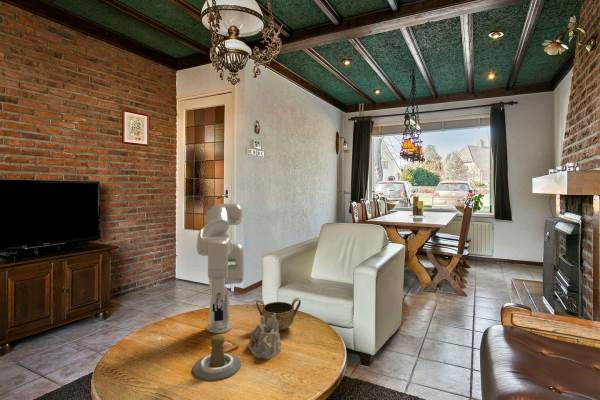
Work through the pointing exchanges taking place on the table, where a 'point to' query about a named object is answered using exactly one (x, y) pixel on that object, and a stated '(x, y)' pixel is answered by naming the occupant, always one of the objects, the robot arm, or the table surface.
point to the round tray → (208, 373)
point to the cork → (217, 352)
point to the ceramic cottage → (265, 339)
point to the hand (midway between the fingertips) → (217, 315)
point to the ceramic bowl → (279, 312)
